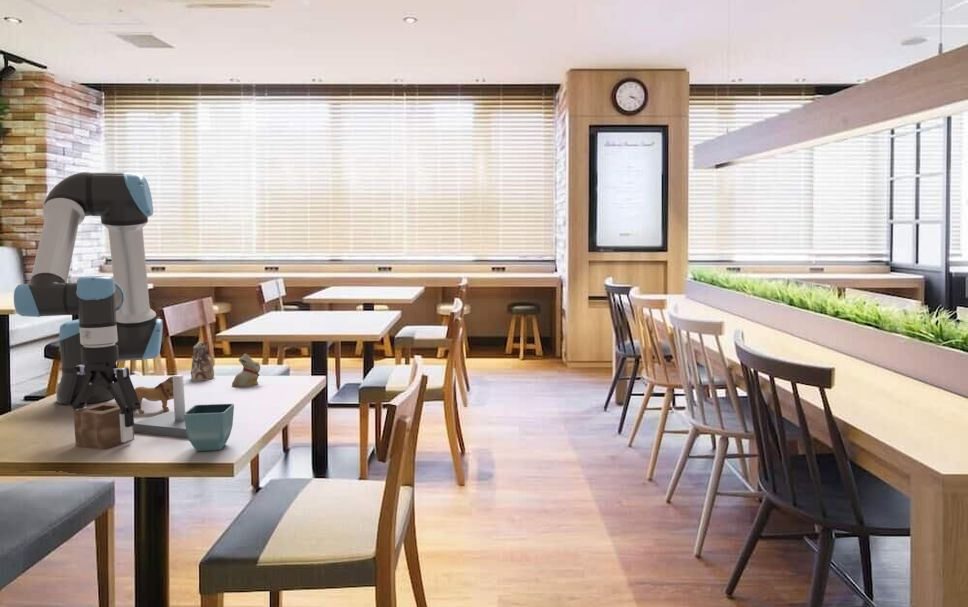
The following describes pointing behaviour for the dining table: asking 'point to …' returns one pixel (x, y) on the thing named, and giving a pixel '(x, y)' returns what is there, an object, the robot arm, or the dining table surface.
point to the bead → (98, 426)
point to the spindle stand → (167, 415)
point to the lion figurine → (157, 393)
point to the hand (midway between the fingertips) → (105, 438)
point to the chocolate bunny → (247, 372)
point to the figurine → (201, 363)
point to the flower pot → (209, 425)
